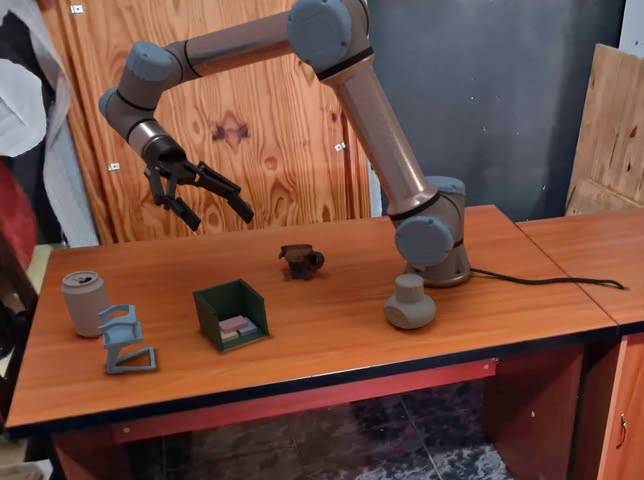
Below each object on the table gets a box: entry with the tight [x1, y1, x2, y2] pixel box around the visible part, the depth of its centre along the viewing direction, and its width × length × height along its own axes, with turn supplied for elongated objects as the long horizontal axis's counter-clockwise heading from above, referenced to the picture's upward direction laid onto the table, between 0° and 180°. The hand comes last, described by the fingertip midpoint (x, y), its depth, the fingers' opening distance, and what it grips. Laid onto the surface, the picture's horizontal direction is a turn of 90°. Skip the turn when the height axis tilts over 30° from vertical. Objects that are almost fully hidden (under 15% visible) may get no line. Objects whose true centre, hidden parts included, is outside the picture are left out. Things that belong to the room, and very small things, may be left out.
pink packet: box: [219, 316, 248, 334], centre depth 137 cm, size 5×3×1 cm
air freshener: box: [383, 273, 437, 330], centre depth 141 cm, size 11×8×10 cm
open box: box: [191, 277, 270, 352], centre depth 135 cm, size 10×10×9 cm
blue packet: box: [236, 318, 257, 336], centre depth 138 cm, size 5×3×1 cm
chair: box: [98, 303, 157, 375], centre depth 125 cm, size 8×8×12 cm
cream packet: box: [220, 330, 239, 343], centre depth 136 cm, size 5×3×1 cm
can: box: [60, 270, 116, 338], centre depth 134 cm, size 8×8×12 cm
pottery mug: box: [277, 243, 326, 281], centre depth 160 cm, size 12×10×8 cm
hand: (225, 222), depth 133 cm, fingers open, 13 cm apart
